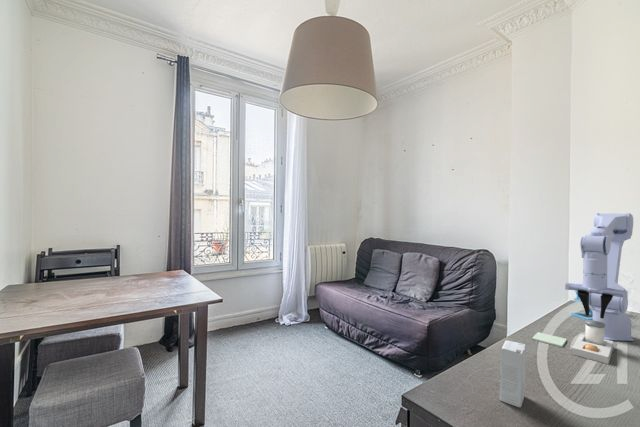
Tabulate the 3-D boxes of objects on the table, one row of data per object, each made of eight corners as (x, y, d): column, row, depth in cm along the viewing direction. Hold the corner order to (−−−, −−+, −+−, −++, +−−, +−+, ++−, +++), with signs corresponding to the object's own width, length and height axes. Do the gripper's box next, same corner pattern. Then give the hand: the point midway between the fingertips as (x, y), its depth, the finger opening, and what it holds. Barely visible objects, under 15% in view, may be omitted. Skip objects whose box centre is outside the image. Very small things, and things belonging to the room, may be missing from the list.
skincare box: (503, 389, 73) (504, 338, 73) (526, 396, 70) (526, 343, 70) (498, 401, 68) (499, 347, 68) (522, 409, 65) (523, 353, 65)
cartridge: (595, 344, 99) (596, 319, 99) (609, 351, 94) (609, 325, 94) (580, 344, 99) (580, 319, 99) (593, 350, 94) (593, 324, 94)
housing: (580, 339, 102) (580, 333, 102) (613, 347, 96) (613, 341, 96) (571, 354, 91) (571, 347, 91) (608, 364, 86) (608, 357, 86)
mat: (537, 333, 108) (537, 331, 108) (566, 340, 102) (566, 338, 102) (531, 339, 102) (531, 338, 102) (561, 347, 96) (561, 345, 96)
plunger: (585, 350, 93) (585, 343, 93) (597, 353, 91) (598, 346, 91) (584, 353, 91) (584, 345, 91) (596, 356, 89) (596, 348, 89)
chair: (606, 320, 122) (607, 290, 122) (589, 321, 120) (589, 291, 120) (587, 313, 129) (587, 285, 129) (570, 314, 128) (570, 286, 128)
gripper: (563, 271, 99) (563, 313, 99) (626, 278, 88) (626, 325, 88) (567, 269, 104) (567, 308, 104) (628, 275, 93) (627, 320, 93)
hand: (594, 316), depth 96 cm, fingers open, 3 cm apart
